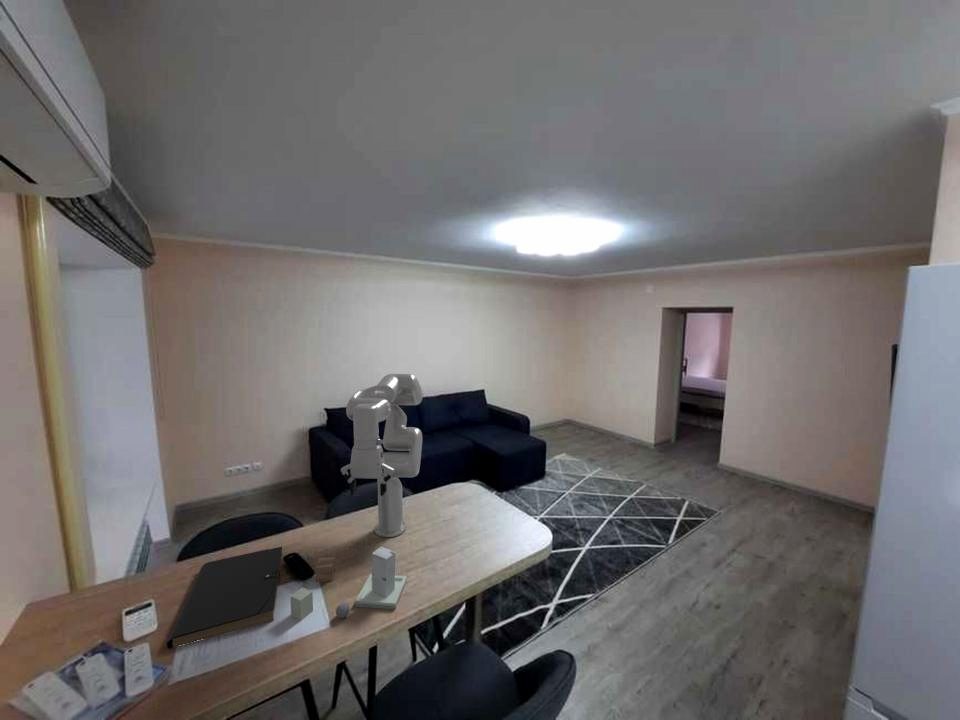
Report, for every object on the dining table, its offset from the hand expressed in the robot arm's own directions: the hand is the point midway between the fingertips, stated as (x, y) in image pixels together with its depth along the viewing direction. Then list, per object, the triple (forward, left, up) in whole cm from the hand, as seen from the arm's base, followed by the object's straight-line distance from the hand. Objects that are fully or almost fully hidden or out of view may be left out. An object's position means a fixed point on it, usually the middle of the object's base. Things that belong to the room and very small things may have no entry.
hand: (368, 493), depth 123 cm
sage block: (+18, -13, -28) cm, 36 cm away
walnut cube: (+2, -14, -28) cm, 31 cm away
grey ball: (+18, -1, -28) cm, 33 cm away
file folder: (+13, -37, -28) cm, 49 cm away
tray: (+8, +7, -28) cm, 30 cm away
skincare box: (+8, +8, -27) cm, 29 cm away
